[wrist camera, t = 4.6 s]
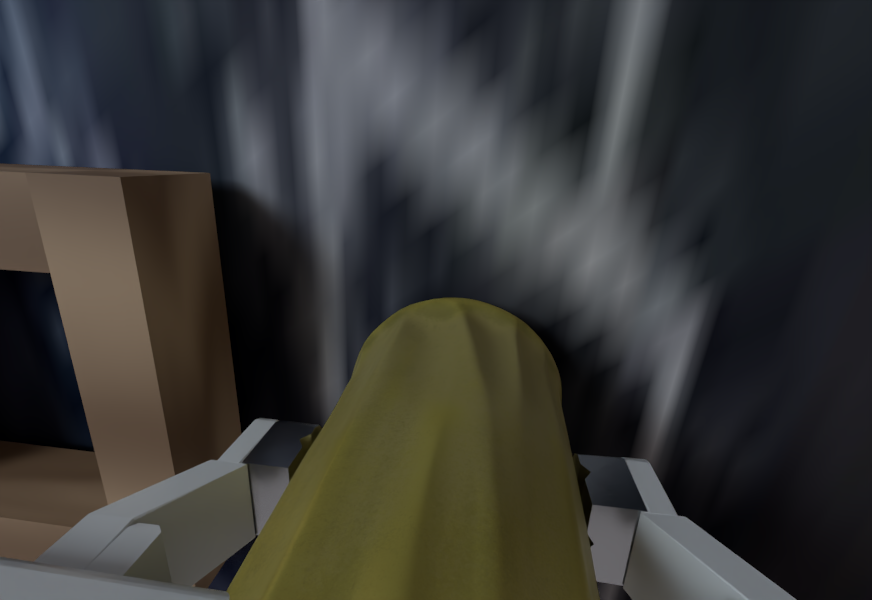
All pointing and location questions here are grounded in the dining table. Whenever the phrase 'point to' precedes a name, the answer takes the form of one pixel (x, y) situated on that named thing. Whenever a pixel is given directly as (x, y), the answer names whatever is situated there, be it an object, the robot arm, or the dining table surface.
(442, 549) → the vase
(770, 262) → the dining table surface
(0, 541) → the brown square frame
